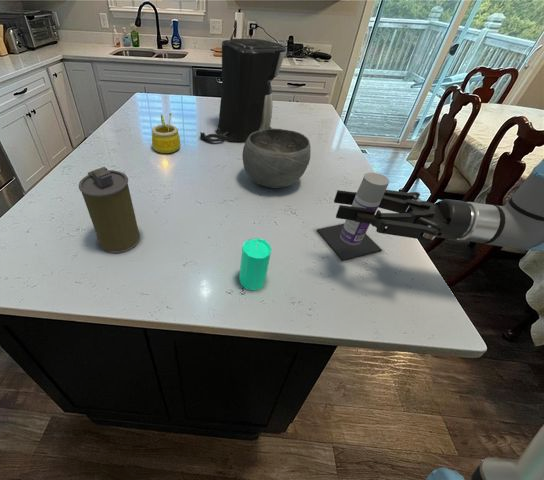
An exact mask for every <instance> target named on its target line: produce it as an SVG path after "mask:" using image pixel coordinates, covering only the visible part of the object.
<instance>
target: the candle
mask: <svg viewBox="0 0 544 480" xmlns="http://www.w3.org/2000/svg"><path fill="white" fill-rule="evenodd" d="M271 254H272V247H271V244H270V243H269V242H268V241H266V239H263V238H259V237H257V238H252V239H249V240H246V241H245V240H244V243H243V244H242V248H241V257H240V266H239V267H240V268H239V277H238V279H239V284H240V285H241V286H242V287H243V288H244V289H247V290H248V291H258V290H260V289H262V288H263V287H264V285H265V283H266V279H267V274H268V269H269V263H270V259H271Z"/></svg>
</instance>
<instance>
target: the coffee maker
mask: <svg viewBox="0 0 544 480" xmlns="http://www.w3.org/2000/svg"><path fill="white" fill-rule="evenodd" d="M286 51H287V48H286V46H285V45H283V44H281V43H278V42H274V41H271V40H265V39H258V38H230V39H226V40H222V42H221V92H220V103H219V104H220V105H219V114H218V124H217V127H216V129H215V132H216V133H209V134H207V135H206V134H205V132H201V131H200V132H199V133H200V136H199V138H200V140H204V141H207V142H210V143H211V142H212V143H217V142H222V141H227V142H233V143H235V142H237V143H238V142H240V143H245V142H246V140H247V138H248V137H249V135H250V134H251V133H253V132H256V131H259V130H264V129H273V127H272V126H271V125H272V124H271V123H272V117H273V89H272V83H271V82H272V81H273V80H274V79H275V78H277V77H278V75H279V73H280V70H281V67H282V64H283V61H284V58H285V54H286ZM211 137H215V138H211Z"/></svg>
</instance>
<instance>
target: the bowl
mask: <svg viewBox="0 0 544 480" xmlns="http://www.w3.org/2000/svg"><path fill="white" fill-rule="evenodd" d="M311 152H312V151H311V142H310V139H309V138H308V137H307V136H305V135H304V134H303V133H301V132H298V131H294V130H288V129H283V128H272V129H264V130H259V131H256V132H253V133H251V134H250V135H249V137H248V138H247V140H246V141H245V142H244V145H243V149H242V157H241V158H242V164H243V168H244V170H245V172H246V173H247V175H248V177H249V178H250V179H251V180H252V181H253V182H254V183H256V184H258V185H260V186H262V187H266V188H271V189H278V188H285V187H288V186H290V185H293V184H295V182H297V181H298V180H299V179H300V178H301V177H303V175H304V174H305V172H306V170H307V168H308V166H309V165H310V161H311Z"/></svg>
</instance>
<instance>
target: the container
mask: <svg viewBox="0 0 544 480" xmlns="http://www.w3.org/2000/svg"><path fill="white" fill-rule="evenodd" d="M389 184H390V179H389V178H388V177H387V176H385V175H384V174H382V173H379V172H366V173H365V174H364V175H363V178H362V180H361V182H360V185H359V186H358V189H357V191H356V192H357V194H356V196H355V198H354V201H353V203H352V205H350V206H351V207H358V208H365V209H372V210H375V213H374V215H376V212H377V210H379V209H378V206H379V204H380V202H381V200H382V197H383V195H384V193H385V191H386V190H387V189H388V186H389ZM343 224H344V226H343V228H342V231H341V233H340V238H341V239H342V240H343V241H344V242H345V243H347V244H350V245H358V244H360V243H361V242H362V240H363V238H364V236H365V234H366V235H367V231H368V230H369V227H370V226H371V224H367V223H360V222H356V221H353V220H346V219H345V221H344V223H343Z"/></svg>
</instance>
